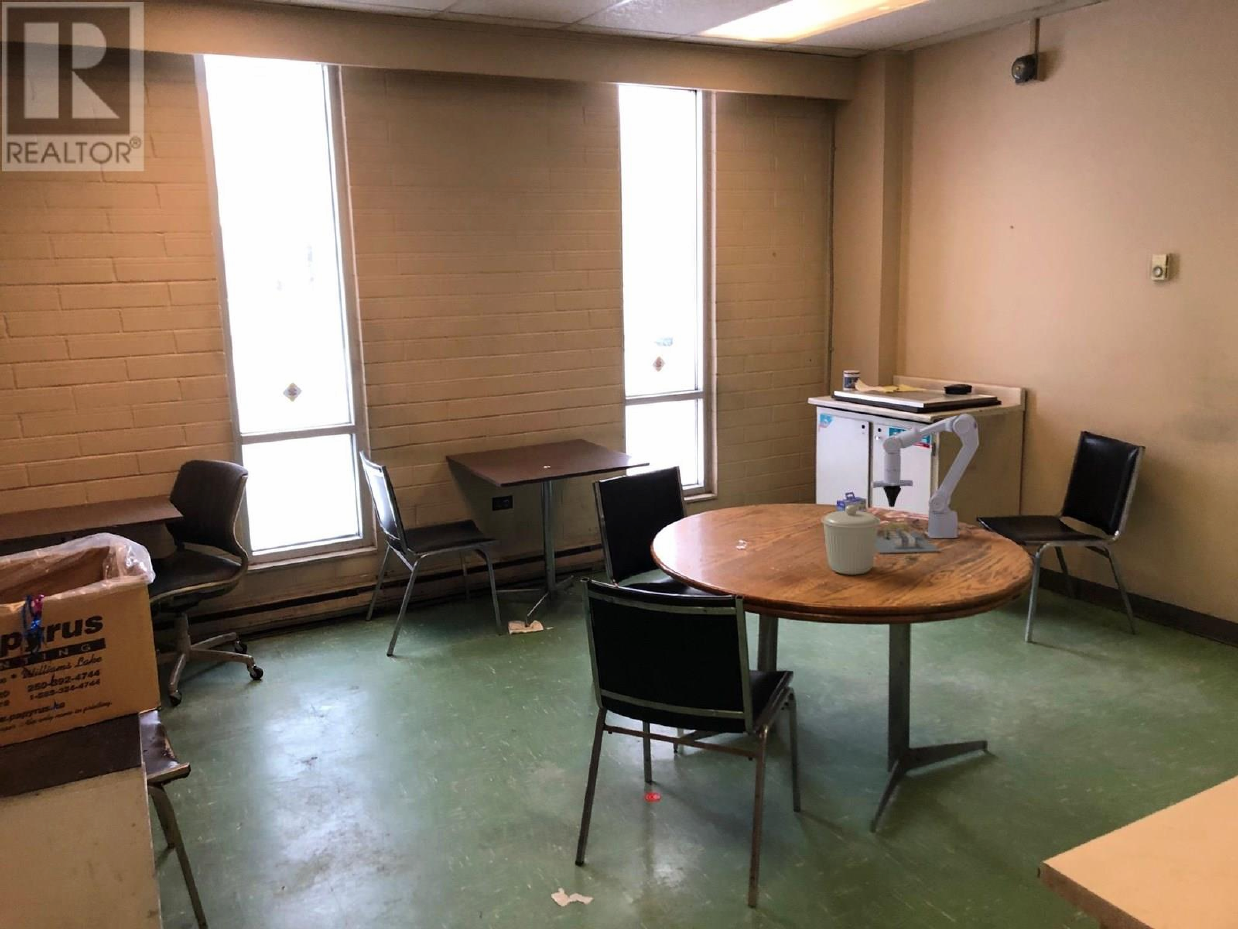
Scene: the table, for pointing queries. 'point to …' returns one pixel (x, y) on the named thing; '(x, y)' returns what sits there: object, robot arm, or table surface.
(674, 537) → the table surface
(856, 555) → the canister
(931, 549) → the mat
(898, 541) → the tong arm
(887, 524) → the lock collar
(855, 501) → the ink cartridge box
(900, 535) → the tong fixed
